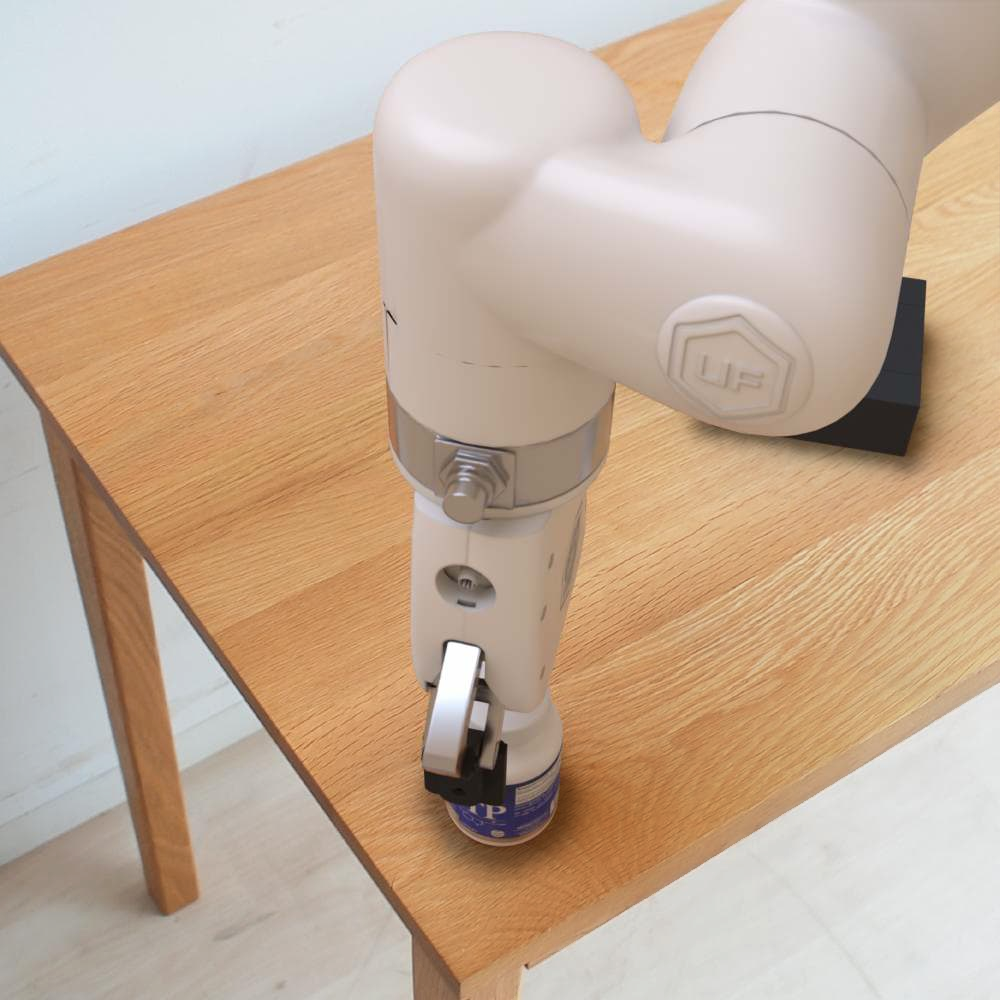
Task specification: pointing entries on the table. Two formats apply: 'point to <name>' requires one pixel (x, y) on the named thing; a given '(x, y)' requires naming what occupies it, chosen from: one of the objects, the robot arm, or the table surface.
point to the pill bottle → (519, 776)
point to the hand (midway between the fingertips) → (492, 694)
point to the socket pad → (887, 386)
